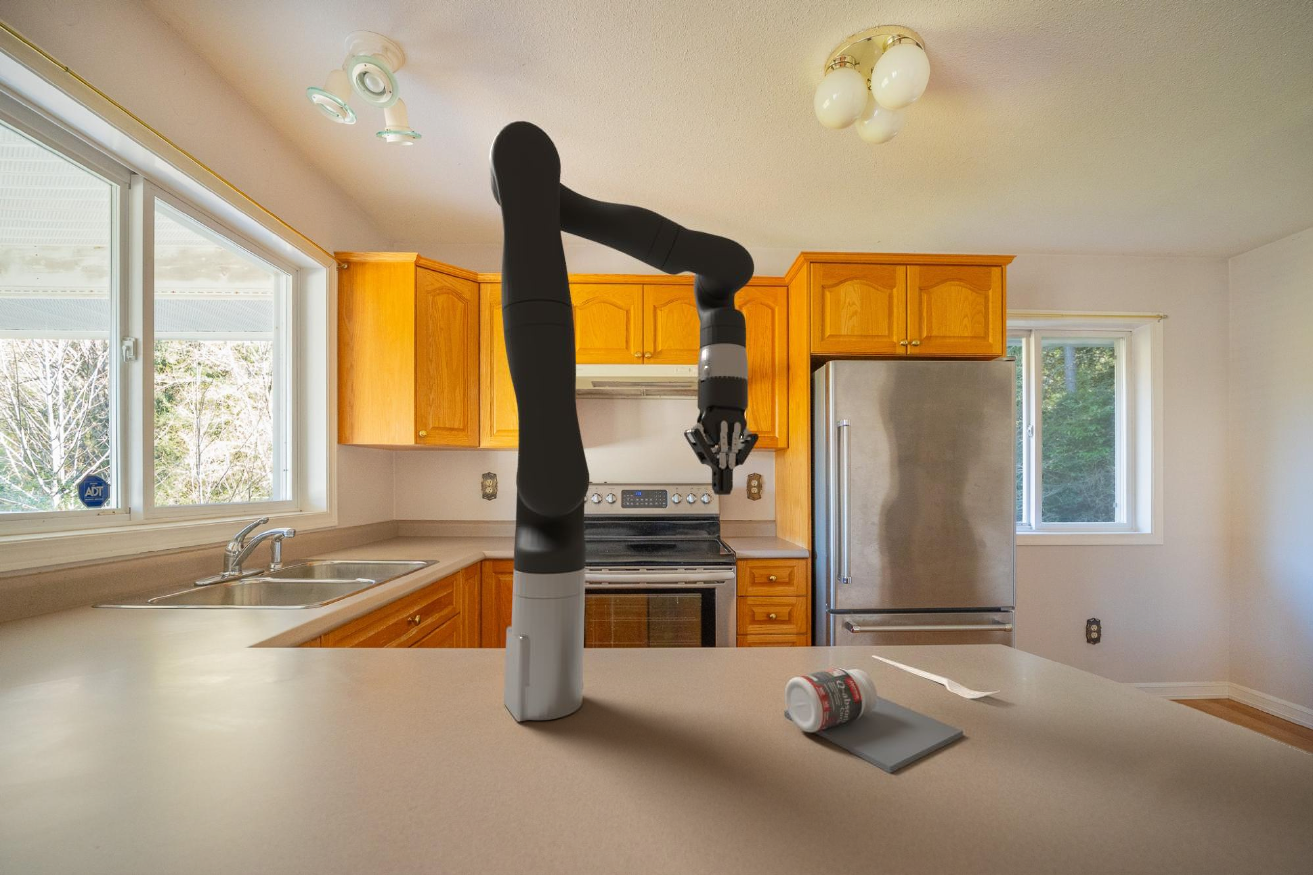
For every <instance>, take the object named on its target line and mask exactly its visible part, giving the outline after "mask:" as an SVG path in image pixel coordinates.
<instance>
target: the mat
mask: <svg viewBox="0 0 1313 875" xmlns="http://www.w3.org/2000/svg"><path fill="white" fill-rule="evenodd" d="M783 712H784V713H783V716H784V717H785V718H787V719H788V720H790V721H792V722H794V721H793V720H792V718H791V716H790V714H789V712H788V709H787V710H784V711H783ZM813 733H815V734H817V735H818V736H820V737H821V738H824V739H826V740H828V741H829V742H832V743H833V744H835V745H837V746H839V747H840V748H843V749H844V750H846V751H848V752H850V753H852V754H854V755H856V756H857V757H859V758H861V759H862V760H865V761H867V762H868V763H870V764H872V765H874V766H876V767H878V768H879V769H881V770H883V771H885V772H887V773H889V774H891V773H894V772H895V771H897V770H899V769H901V768H903V767H905V766H907V765H909V764H911V763H913V762H915V761H917V760H919V759H920V758H923V757H925V756H927V755H929V754H930V753H931V754H932V753H933V752H934V751H937V750H938V749H941V748H942V747H944V746H947V745H949V744H951V743H952V742H955V741H956V740H959V739H960V738H963V736H964V731H963V729H960V728H957V727H955V726H952V725H951V724H947V723H945V722H942V721H940V720H938V719H936V718H933V717H931V716H928V715H925V714H923V713H920V712H918V711H916V710H913V709H911V708H908V707H906V706H904V705H901V704H898V703H895V702H894V701H891V700H888V699H886V698H884V697H882V696H878V695H877V704H876V706H875V707H874V708H873V709H872V710H870V711H868V712H865V713H862V715H861V716H860V717H859V718H858V719H856V720H853V721H850V722H847V723H843V724H839V725H836V726H833V727H829V728H826V729H822V730H819V731H816V732H813Z"/></svg>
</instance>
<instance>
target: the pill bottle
mask: <svg viewBox="0 0 1313 875" xmlns="http://www.w3.org/2000/svg"><path fill="white" fill-rule="evenodd" d="M784 692H785V693H784V699H785V705H786V709H787V710H788V712H789V714H790V716H791V718H792V720H793V721H792V720H791V721H792V722H793V723H794V724H795V725H796V726H797V727H798V728H799V729H800V730H802V731H804V732H806V733H814V732H816V731H819V730H822V729H826V728H829V727H833V726H836V725H839V724H843V723H847V722H850V721H853V720H856V719H858V718H859V717H860V716H861V715H862V713H865V712H868V711H870V710H872V709H873V708H874V707H875V706H876V704H877V696H878V692H877V688H876V686H875V683H874V681H873V679H872V678H871V677H870V676H869V674H867V673H866V672H865V671H863V670H861V669H858V668H854V669H844V668H840V667H839V668H838V667H836V668H832V669H831V668H830V669H826V670H822V671H817V672H813V673H807V674H804V675H798V676H795V677H793V678H791V679H790V680H789V681H788V682H787V685H786V687H785V691H784Z"/></svg>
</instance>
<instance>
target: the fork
mask: <svg viewBox="0 0 1313 875" xmlns="http://www.w3.org/2000/svg"><path fill="white" fill-rule="evenodd" d="M871 657H872V658H873V659H874V658H875V659H877V660H880V661H881V662H884V663H887V664H889V665H891V666H895V667H896V668H899V669H901V670H904V671H906V672H908V673H912V674H914V675H916V676H920V677H922V678H925V679H927V680H930V681H934V682H936V683H939V684H942V685H944V686H945V687H946V689H947V690H948V691H950V692H951V693H954V694H957V695H959V696H961V697H964V698H966V699H979V698H982V697H985V696H989V695H993V694H995V693H998V692H1000V691H1001V689H1000V690H997V691H990V692H989V691H988V692H987V691H977V690H972V689H969V688H967V687H965V686H963V685H961V684H959V683H958V682H956V681H953V680H951V679H950V678H946V677H944V676H941V675H937V674H934V673H932V672H928V671H925V670H921V669H919V668H915V667H912V666H909V665H907V664H902V663H900V662H897V661H893V660H890V659H887V658H884V657H882V656H881V657H880V656H878V655H875V654H873V655H871Z"/></svg>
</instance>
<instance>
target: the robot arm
mask: <svg viewBox="0 0 1313 875" xmlns="http://www.w3.org/2000/svg"><path fill="white" fill-rule="evenodd" d="M489 150H490V151H489V162H488V163H489V174H490V175H489V178H490V179H489V180H490V189H491V193H492V195H493V198H494V200H495V202H496V203H497V204H498V206H499V207H500V212H501V221H502V232H503V233H502V238H503V239H502V240H503V241H502V252H501V253H502V254H501V255H502V256H501V278H500V280H501V282H500V284H501V285H500V286H501V287H500V289H501V290H500V291H501V293H500V294H501V295H500V296H501V318H502V328H503V337H504V338H503V339H504V346H505V353H506V359H507V365H508V370H509V374H510V378H511V383H512V387H513V390H514V395H515V401H516V405H517V416H518V418H517V419H518V421H517V422H518V426H517V427H518V431H517V433H518V440H517V442H518V445H517V446H518V450H517V452H518V453H517V468H516V469H517V471H516V476H515V478H516V480H515V485H516V506H515V508H516V509H515V531H514V545H513V546H514V547H513V575H512V576H513V581H512V582H513V583H512V602H511V603H512V606H511V607H512V608H511V625H510V626H507V628H506V635H505V636H506V639H505V665H504V666H505V667H504V689H503V690H504V692H503V703H504V705H505V706H506V708H507V710H508V711H509V712H510V714H511V715H512V717H514V719H515V720H516V722H523V721H549V720H556V719H558V718H559V719H560V718H563V717H566V716H568V715H571V714H574V712H576V711H577V710H579V709H580V708H581V706H582V705H583V697H584V696H583V695H584V694H583V693H584V652H585V651H584V643H585V642H584V641H585V639H584V638H585V601H586V600H585V597H586V596H585V595H586V590H585V589H586V562H587V561H586V560H587V559H586V558H587V555H586V554H587V549H586V548H587V547H586V537H585V503H586V502H585V498H586V496H587V494H588V491H589V488H590V487H589V486H590V470H589V467H588V461H587V458H586V453H585V448H584V444H583V438H582V435H581V430H580V423H579V422H580V421H579V418H578V417H579V416H578V411H577V410H578V409H577V401H576V400H577V397H576V396H577V395H576V394H577V392H576V391H577V355H576V354H577V352H576V332H575V321H574V314H573V313H574V311H573V303H572V296H571V287H570V281H569V274H568V266H567V260H566V255H565V250H564V249H565V248H564V244H563V239H562V238H563V237H562V232H563V233H567V234H570V235H572V236H576V237H579V238H583V239H585V240H587V241H591V242H593V243H598V244H600V245H603V246H604V247H605V246H606V247H608V248H610V249H614V250H616V251H618V252H620V253H623V254H625V255H627V256H630V257H631V258H634V259H636V260H638V261H640V262H642V263H644V264H646V265H648V266H650V267H652V268H654V269H657V270H659V271H661V272H663V273H666V274H668V275H670V276H676V275H679V274H681V273H684V272H689V273H692V274H695V275H694V279H693V294H694V300H695V305H696V310H697V311H696V312H697V315H698V320H699V324H700V325H699V326H700V327H699V355H698V361H697V406H696V407H697V408H698V410H699V414H698V416H697V418H696V424H695V425H693V426H692V427H691V428H690V429H685V430H684V432H683V435H684V437H685V439H686V441H687V442H688V445H689V446H690V447H691V449H692V450H693V452H694V455H696V457H697V459H698V461H699V462H700V464H701V465H706V466H708V467H709V468H710V469H711V488H712V491H713V493H714V495H719V496H721V495H722V496H726V495H727V496H729V495H731V493H732V491H733V488H734V487H733V486H734V483H733V482H734V481H733V480H734V475H733V474H734V469H735V468H736V467H738V466H743V465H744V464H745V462H746V460H747V459H748V457H749V455H750V453H752V450H753V448H754V447H755V446H756V444H757V442H758V440H759V434H758V433H756V432H755V433H752V432H751V431H750V429H749V428H748V421H747V418H746V417H745V416H746V415H745V413H746V410H747V409H748V407H749V366H748V365H749V364H748V362H749V361H748V356H747V323H746V322H747V321H746V316H745V315H744V313H743V311H741V310H739V309H737V308H736V304H735V298H736V296H735V295H736V293H738V292H739V291H741V289H743V288H745V286H746V285H748V284H749V282H750V280H752V278H753V276H754V272H755V262H754V259H753V257H752V255H751V254H750V252H749V251H748V250H747V248H745V247H744V246H743V245H742V244H740V242H738V241H736V240H733V239H731V238H728V237H724V236H721V235H717V234H713V233H708V232H705V231H701V230H700V231H699V230H693V229H689V228H686V227H685V226H683V225H681V224H679V223H677V222H675V221H673V220H671V219H670V218H667V217H665V216H663V215H662V214H660V213H658V212H656V211H653V210H651V209H648V208H644V207H641V206H638V205H634V204H633V205H631V204H627V203H626V204H624V203H617V202H616V203H615V202H608V201H601V200H598V199H594V198H590V197H588V196H585V195H582V194H581V193H578V192H576V191H574V190H572V189H571V188H570V187H568V186H566V185H564V183H562V182H561V174H562V164H561V158H560V155H559V151H558V149H557V147H556V145H555V143H554V141H553V140H552V138H551V137H550V136H549V134H547V133H546V132H545V131H544V129H542V128H541V127H539V126H538V125H536V124H533V123H532V122H529V121H525V120H520V121H519V120H517V121H513V122H509V123H508V124H506V125H505V126H503V128H501V129H500V130H498V132H497V134H496V135H495V137H494V139H493V141H492V144H491V147H490V149H489Z"/></svg>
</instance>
